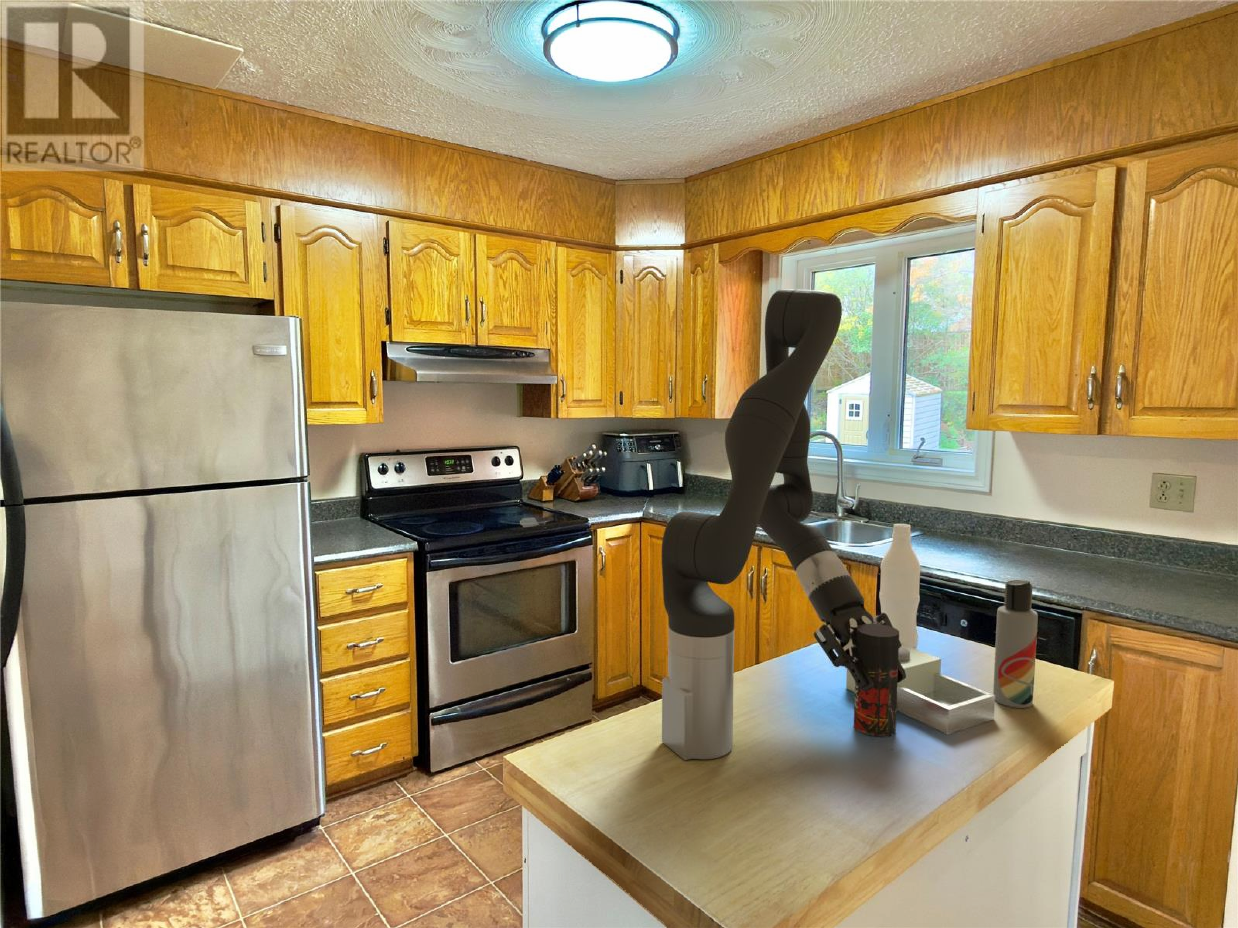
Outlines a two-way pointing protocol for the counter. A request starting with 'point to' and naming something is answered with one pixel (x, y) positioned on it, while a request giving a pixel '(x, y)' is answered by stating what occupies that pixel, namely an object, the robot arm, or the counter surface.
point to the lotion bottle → (1015, 647)
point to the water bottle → (901, 585)
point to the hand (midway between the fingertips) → (885, 684)
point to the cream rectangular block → (912, 670)
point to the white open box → (947, 705)
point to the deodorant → (877, 680)
